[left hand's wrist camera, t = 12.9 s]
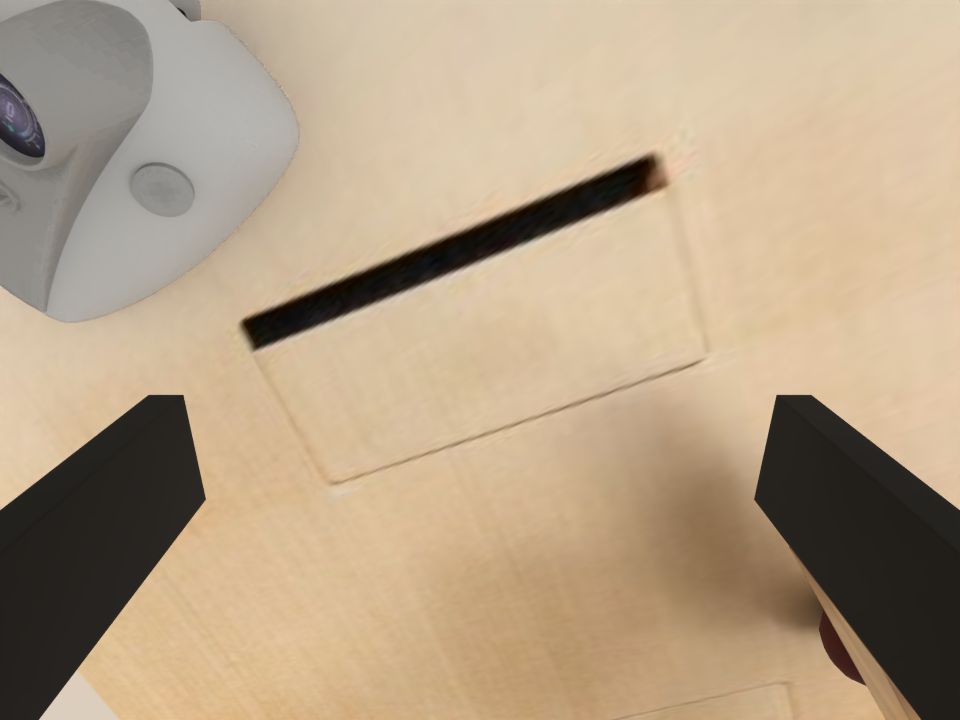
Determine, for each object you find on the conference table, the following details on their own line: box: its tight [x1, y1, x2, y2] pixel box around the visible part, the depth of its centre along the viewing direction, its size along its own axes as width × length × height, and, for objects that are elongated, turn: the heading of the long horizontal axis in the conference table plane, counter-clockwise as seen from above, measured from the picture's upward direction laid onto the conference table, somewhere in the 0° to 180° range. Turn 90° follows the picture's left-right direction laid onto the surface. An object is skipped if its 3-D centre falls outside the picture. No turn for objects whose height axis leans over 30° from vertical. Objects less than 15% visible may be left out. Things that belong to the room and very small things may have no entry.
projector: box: [0, 0, 299, 323], centre depth 30 cm, size 22×23×15 cm
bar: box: [789, 546, 921, 720], centre depth 34 cm, size 23×6×9 cm, turn 33°
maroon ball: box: [819, 610, 867, 686], centre depth 48 cm, size 7×8×7 cm
